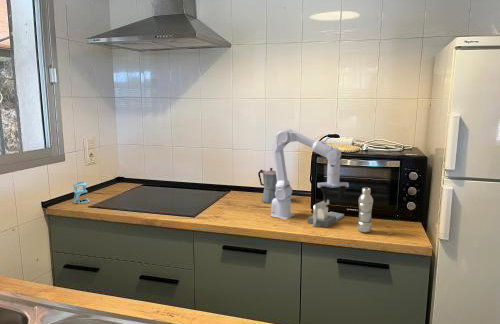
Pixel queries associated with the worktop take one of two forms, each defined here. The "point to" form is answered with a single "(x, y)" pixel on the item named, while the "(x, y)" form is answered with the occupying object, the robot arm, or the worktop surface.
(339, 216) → the tile
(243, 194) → the worktop surface
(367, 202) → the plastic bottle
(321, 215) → the plug
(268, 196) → the moka pot
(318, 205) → the grey piece
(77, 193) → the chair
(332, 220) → the socket block
